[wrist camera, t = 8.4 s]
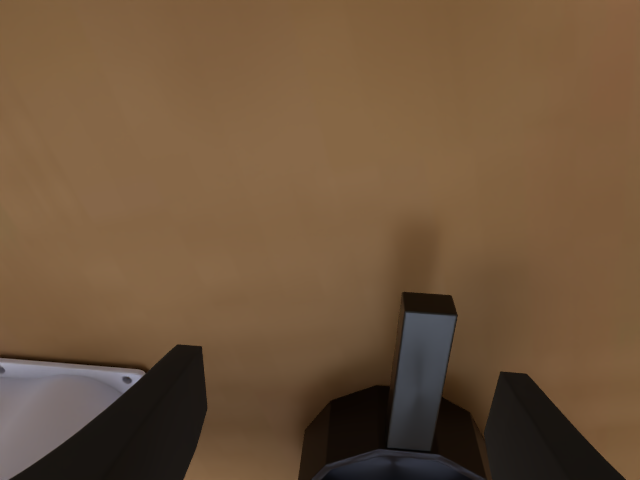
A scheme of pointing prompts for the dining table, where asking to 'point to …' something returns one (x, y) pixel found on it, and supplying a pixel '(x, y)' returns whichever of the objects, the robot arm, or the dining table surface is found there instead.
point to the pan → (401, 413)
